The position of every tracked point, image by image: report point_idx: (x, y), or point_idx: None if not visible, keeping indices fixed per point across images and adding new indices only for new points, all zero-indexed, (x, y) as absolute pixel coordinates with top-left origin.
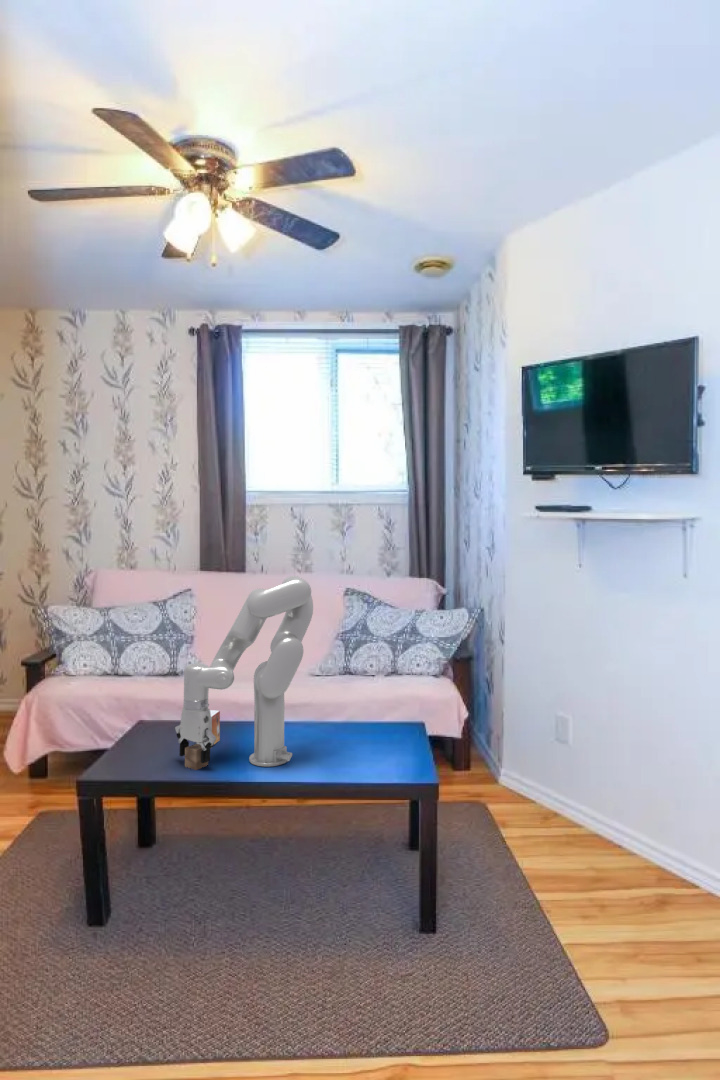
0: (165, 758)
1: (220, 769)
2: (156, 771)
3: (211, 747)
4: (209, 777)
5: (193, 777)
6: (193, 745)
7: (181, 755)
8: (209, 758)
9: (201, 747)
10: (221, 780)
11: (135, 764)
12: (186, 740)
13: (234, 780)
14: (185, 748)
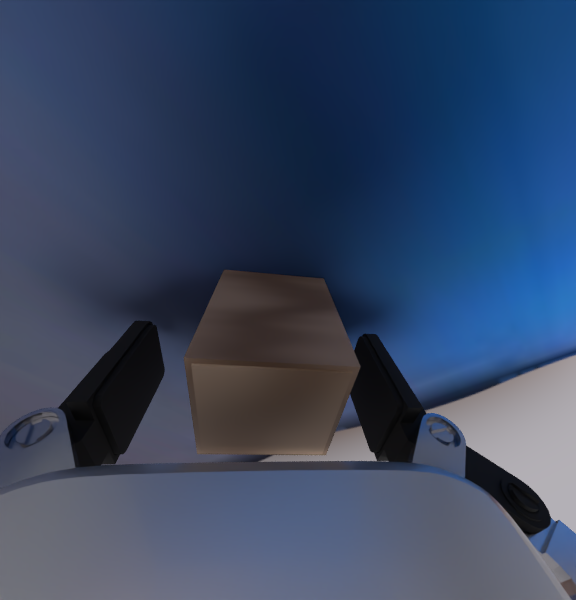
0: (14, 315)
1: (425, 290)
2: (171, 420)
3: (454, 429)
4: (413, 374)
5: (349, 398)
6: (211, 408)
7: (163, 375)
8: (379, 345)
9: (318, 408)
10: (477, 373)
11: (20, 417)
12: (84, 442)
13: (536, 352)
14: (206, 449)
